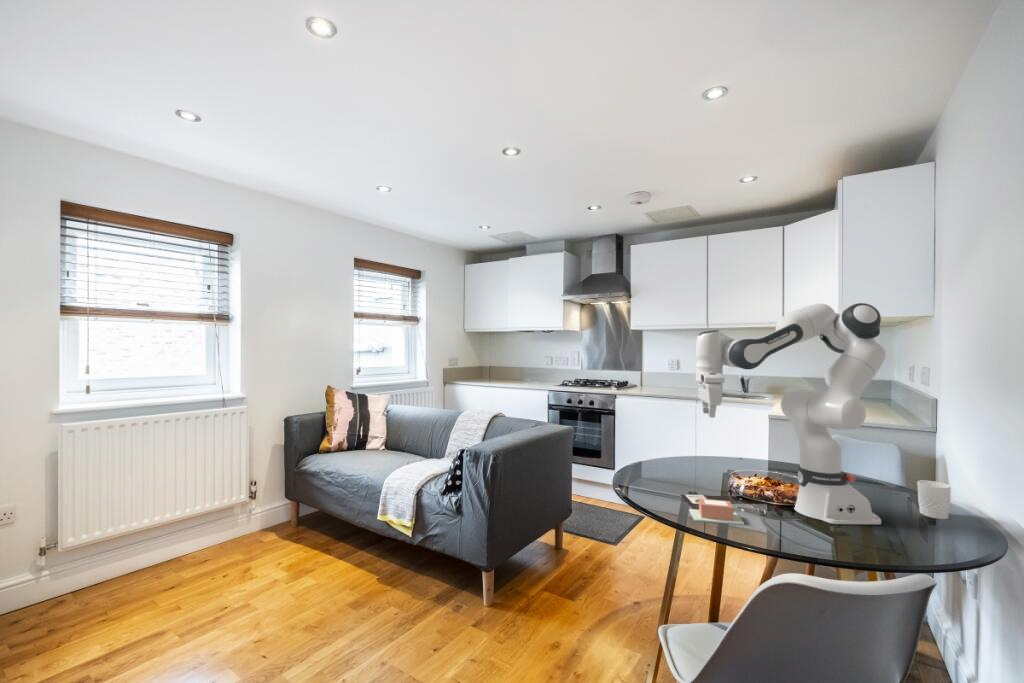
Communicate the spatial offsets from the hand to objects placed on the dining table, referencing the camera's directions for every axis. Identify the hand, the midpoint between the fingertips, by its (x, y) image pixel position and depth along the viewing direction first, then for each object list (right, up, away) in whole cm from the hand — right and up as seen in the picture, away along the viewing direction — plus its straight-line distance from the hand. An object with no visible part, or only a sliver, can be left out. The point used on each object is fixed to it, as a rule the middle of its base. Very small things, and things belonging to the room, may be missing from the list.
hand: (708, 415), depth 160 cm
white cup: (+65, -30, -15) cm, 73 cm away
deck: (-6, -28, -18) cm, 34 cm away
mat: (-6, -29, -18) cm, 35 cm away
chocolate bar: (-5, -30, -8) cm, 31 cm away
